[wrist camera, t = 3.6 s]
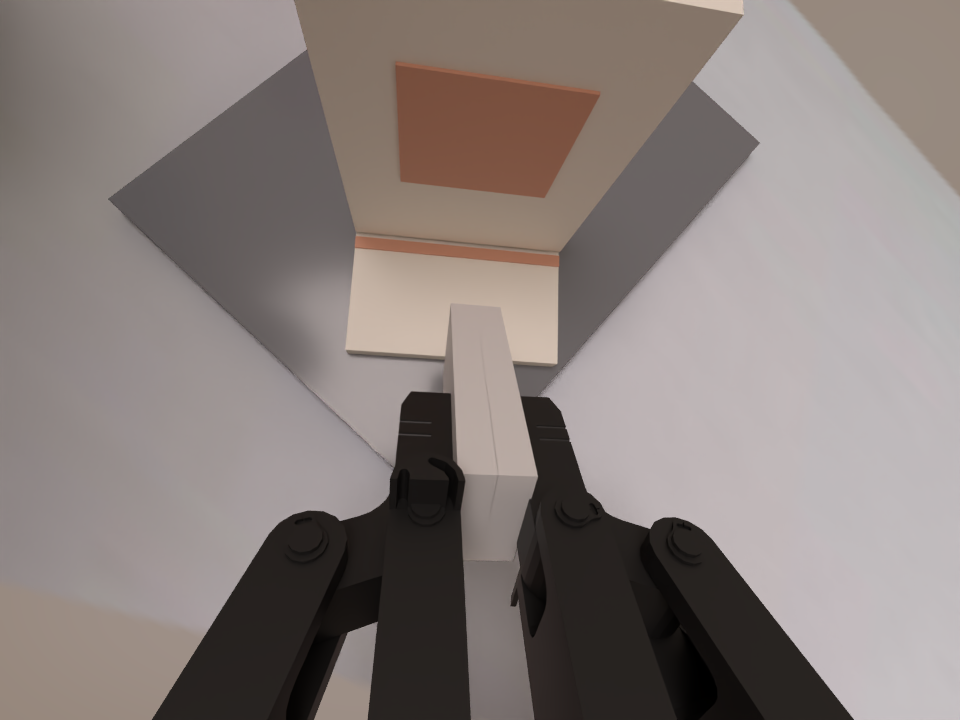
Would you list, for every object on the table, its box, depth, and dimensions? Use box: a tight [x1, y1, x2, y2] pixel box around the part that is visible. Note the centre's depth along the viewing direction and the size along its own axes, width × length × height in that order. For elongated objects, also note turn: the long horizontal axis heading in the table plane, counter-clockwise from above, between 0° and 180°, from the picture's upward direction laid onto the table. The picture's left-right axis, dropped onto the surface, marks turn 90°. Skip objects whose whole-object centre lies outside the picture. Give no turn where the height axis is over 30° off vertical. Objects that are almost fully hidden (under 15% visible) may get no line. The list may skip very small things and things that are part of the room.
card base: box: [345, 232, 559, 367], centre depth 21 cm, size 7×9×1 cm
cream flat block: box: [294, 0, 744, 252], centre depth 15 cm, size 2×9×12 cm, turn 88°
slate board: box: [108, 50, 760, 467], centre depth 23 cm, size 19×25×1 cm
